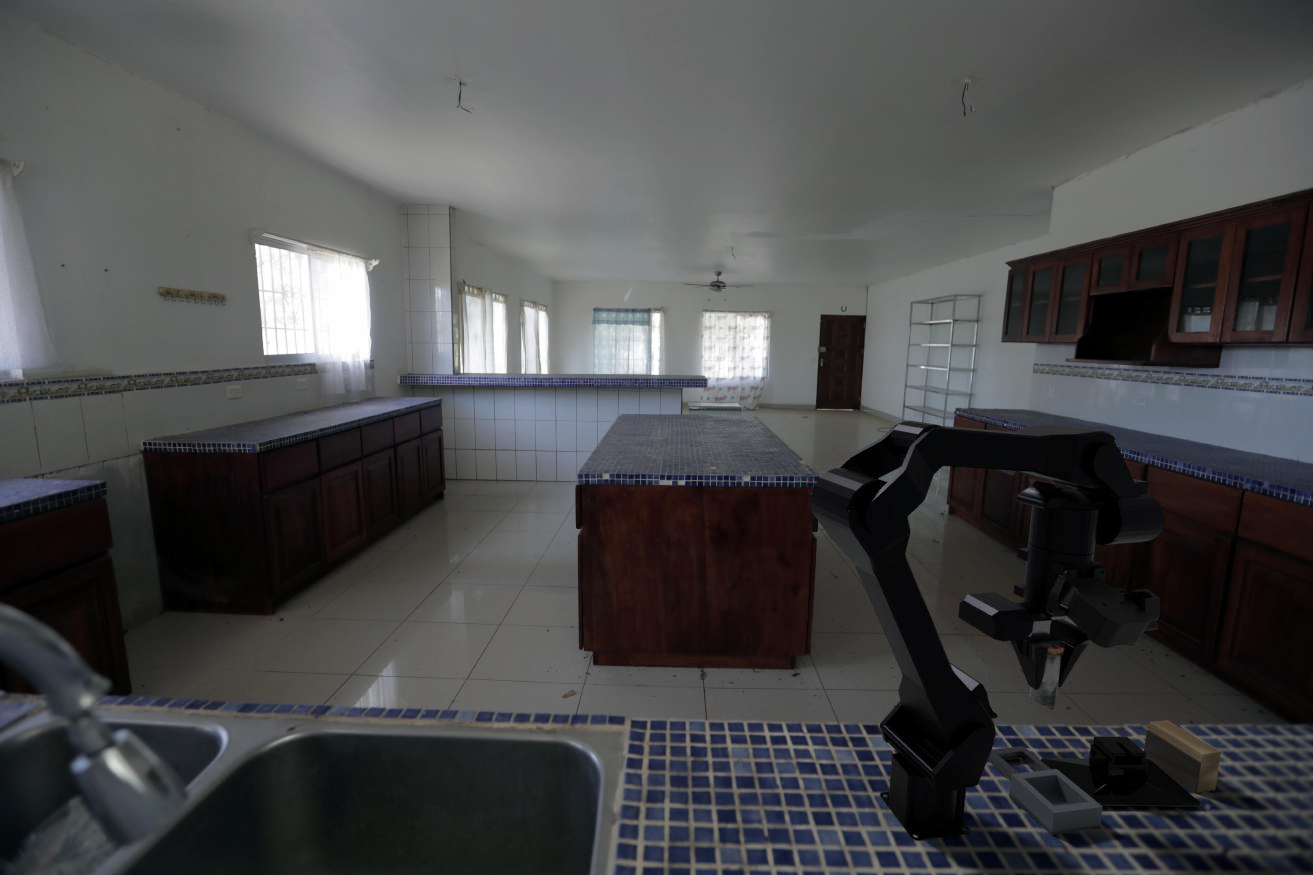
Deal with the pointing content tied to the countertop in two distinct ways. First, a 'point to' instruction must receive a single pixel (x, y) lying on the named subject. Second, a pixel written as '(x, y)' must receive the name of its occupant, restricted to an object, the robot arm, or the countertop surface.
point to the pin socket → (1013, 753)
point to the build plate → (1121, 775)
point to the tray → (1055, 801)
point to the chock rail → (1182, 756)
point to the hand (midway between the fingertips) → (1044, 686)
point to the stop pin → (1049, 676)
